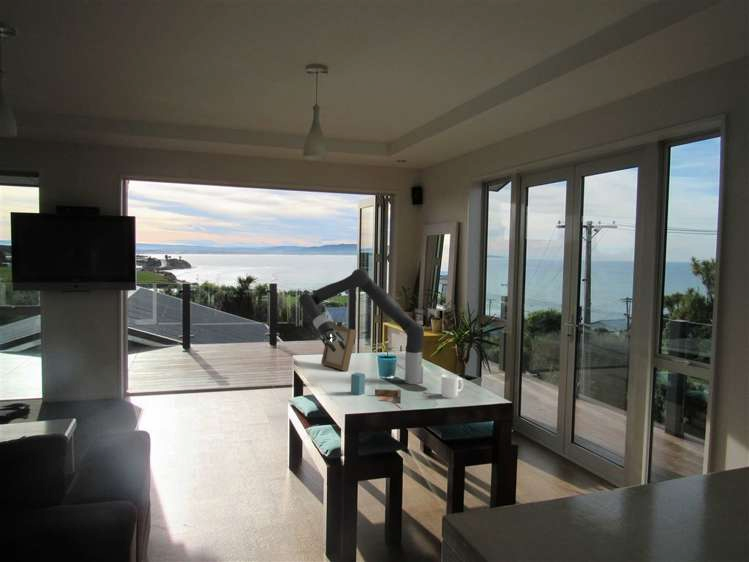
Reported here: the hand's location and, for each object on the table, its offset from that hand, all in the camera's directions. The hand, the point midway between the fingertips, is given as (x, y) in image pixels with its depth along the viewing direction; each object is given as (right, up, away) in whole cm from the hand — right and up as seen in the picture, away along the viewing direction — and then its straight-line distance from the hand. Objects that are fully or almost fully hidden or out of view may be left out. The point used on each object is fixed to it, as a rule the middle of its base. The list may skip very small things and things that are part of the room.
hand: (339, 349), depth 284 cm
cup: (+57, -23, -5) cm, 62 cm away
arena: (+24, -22, -14) cm, 36 cm away
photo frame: (-3, -18, +55) cm, 58 cm away
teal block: (+9, -21, -5) cm, 24 cm away
